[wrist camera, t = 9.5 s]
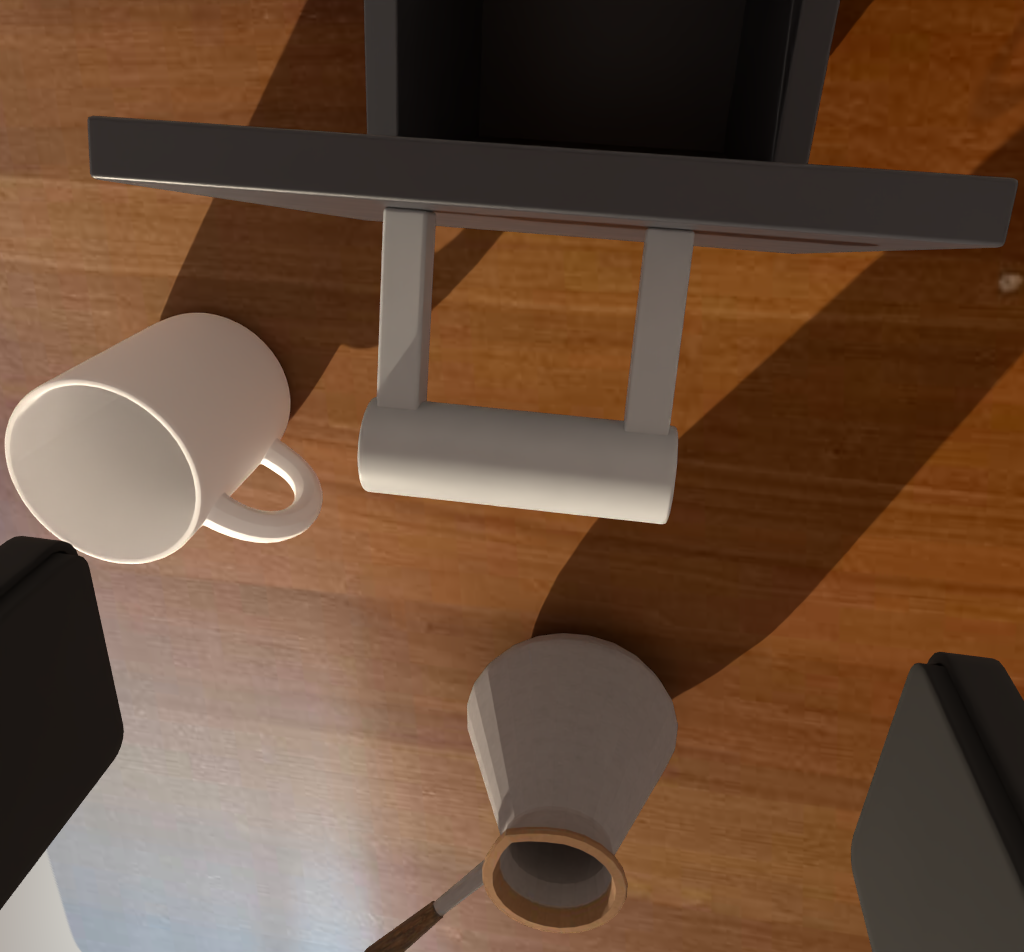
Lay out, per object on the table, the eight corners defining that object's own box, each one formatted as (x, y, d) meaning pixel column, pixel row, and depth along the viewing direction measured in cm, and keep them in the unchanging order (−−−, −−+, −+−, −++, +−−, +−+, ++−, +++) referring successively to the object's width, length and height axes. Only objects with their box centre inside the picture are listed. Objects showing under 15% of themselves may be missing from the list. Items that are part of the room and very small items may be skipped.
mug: (387, 414, 42) (317, 512, 33) (313, 527, 46) (231, 643, 36) (177, 274, 40) (40, 336, 31) (117, 402, 44) (-22, 492, 35)
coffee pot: (599, 573, 44) (582, 793, 31) (714, 718, 48) (744, 973, 34) (316, 728, 52) (206, 956, 39) (432, 843, 55) (366, 1091, 42)
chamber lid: (85, 114, 11) (105, 504, 12) (1022, 177, 10) (927, 600, 11) (363, 189, 23) (358, 383, 25) (799, 222, 22) (767, 423, 23)
